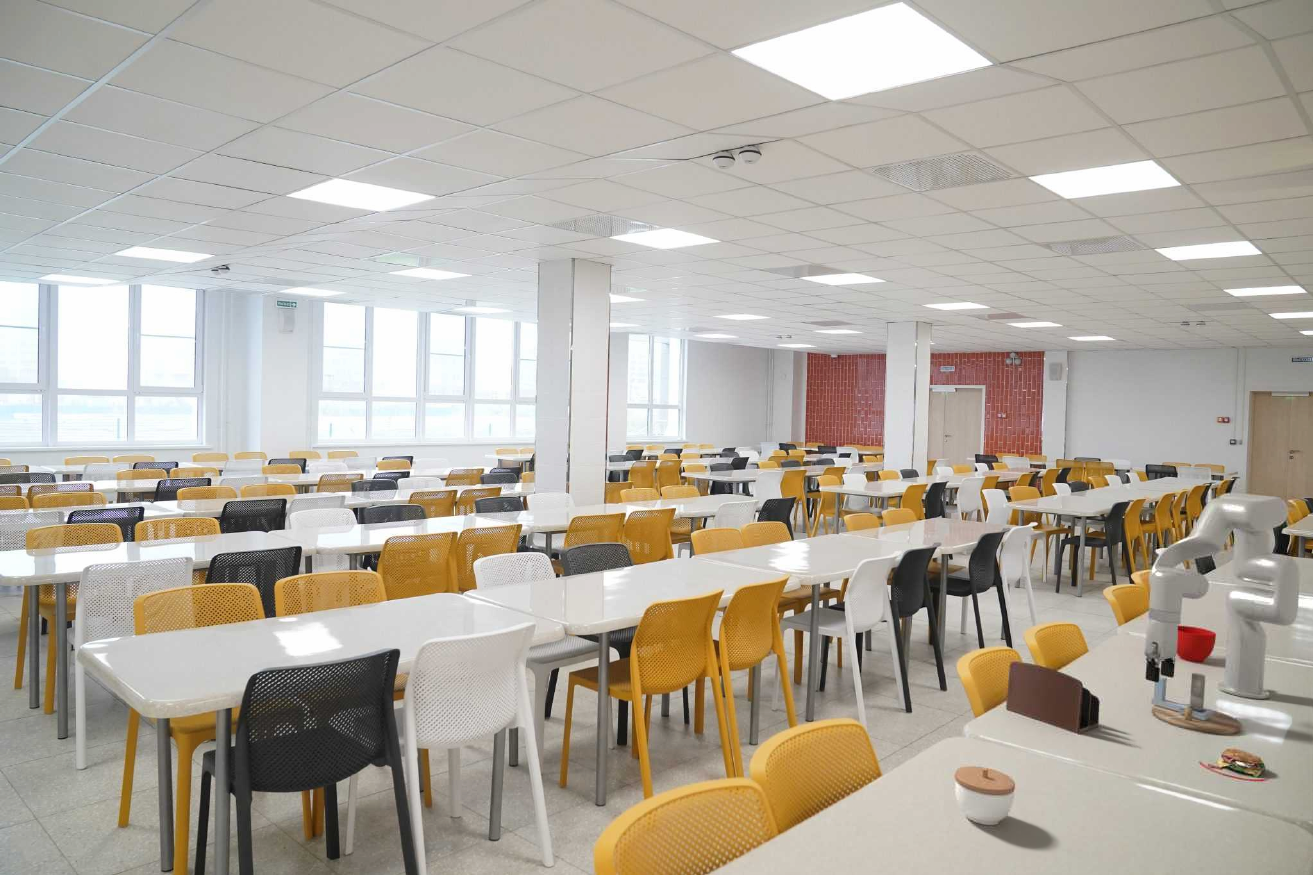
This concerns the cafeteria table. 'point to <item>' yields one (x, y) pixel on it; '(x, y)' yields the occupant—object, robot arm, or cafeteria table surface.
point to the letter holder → (1051, 698)
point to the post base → (1199, 724)
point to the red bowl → (1195, 643)
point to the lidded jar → (984, 794)
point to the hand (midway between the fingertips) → (1159, 678)
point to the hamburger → (1239, 763)
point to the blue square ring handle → (1160, 701)
